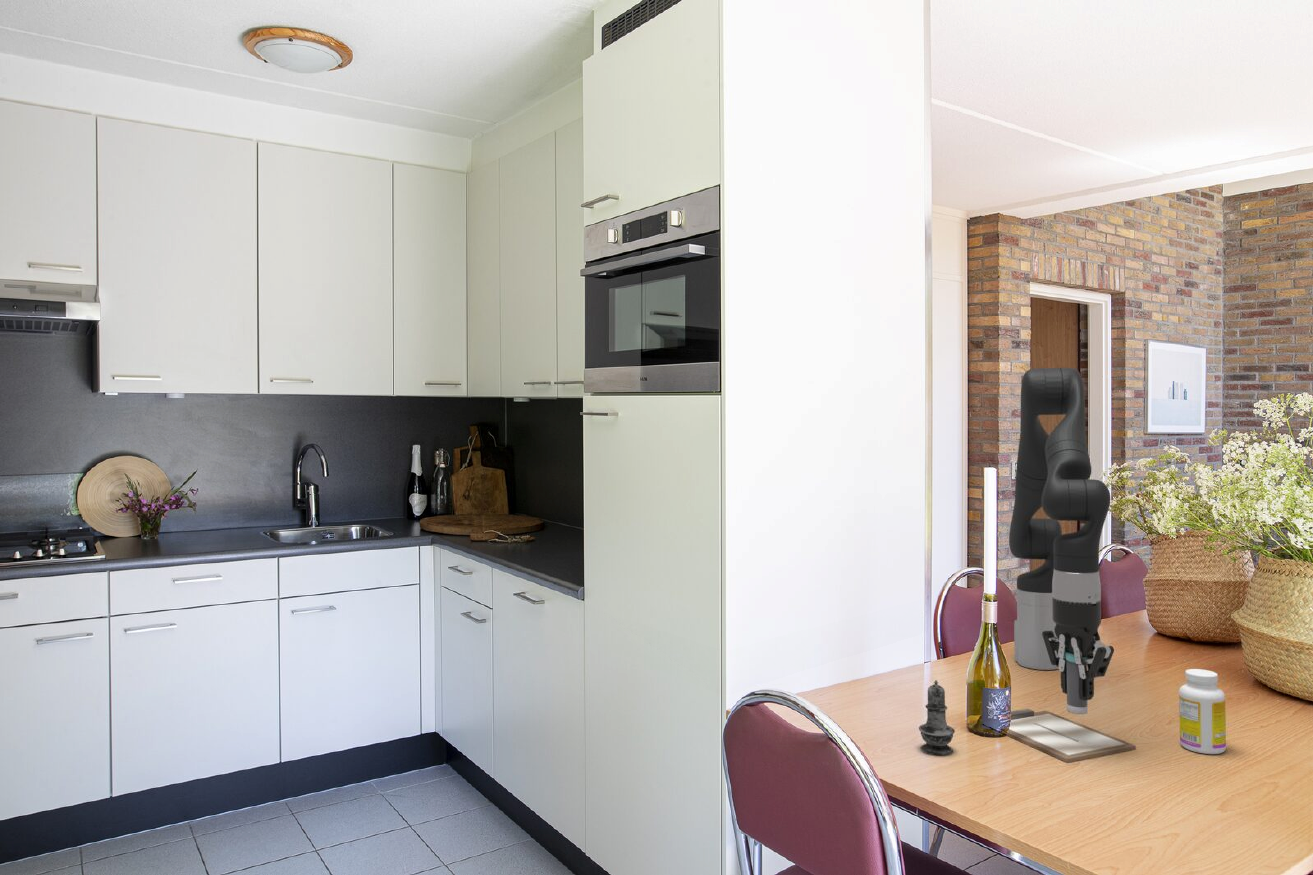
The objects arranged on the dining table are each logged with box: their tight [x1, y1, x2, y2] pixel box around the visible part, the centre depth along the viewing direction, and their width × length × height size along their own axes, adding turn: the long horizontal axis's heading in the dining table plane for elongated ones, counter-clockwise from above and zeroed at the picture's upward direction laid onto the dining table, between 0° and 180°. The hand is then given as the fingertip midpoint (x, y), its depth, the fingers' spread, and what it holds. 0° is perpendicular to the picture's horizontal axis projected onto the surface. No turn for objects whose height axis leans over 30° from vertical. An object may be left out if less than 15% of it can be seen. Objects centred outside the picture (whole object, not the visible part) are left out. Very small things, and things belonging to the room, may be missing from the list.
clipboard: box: [1006, 708, 1137, 764], centre depth 157 cm, size 20×15×2 cm
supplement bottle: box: [1178, 668, 1227, 755], centre depth 150 cm, size 7×7×13 cm
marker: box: [1066, 652, 1089, 715], centre depth 152 cm, size 3×3×10 cm
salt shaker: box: [918, 679, 956, 757], centre depth 152 cm, size 6×6×12 cm
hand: (1077, 695), depth 152 cm, fingers closed on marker, 3 cm apart
